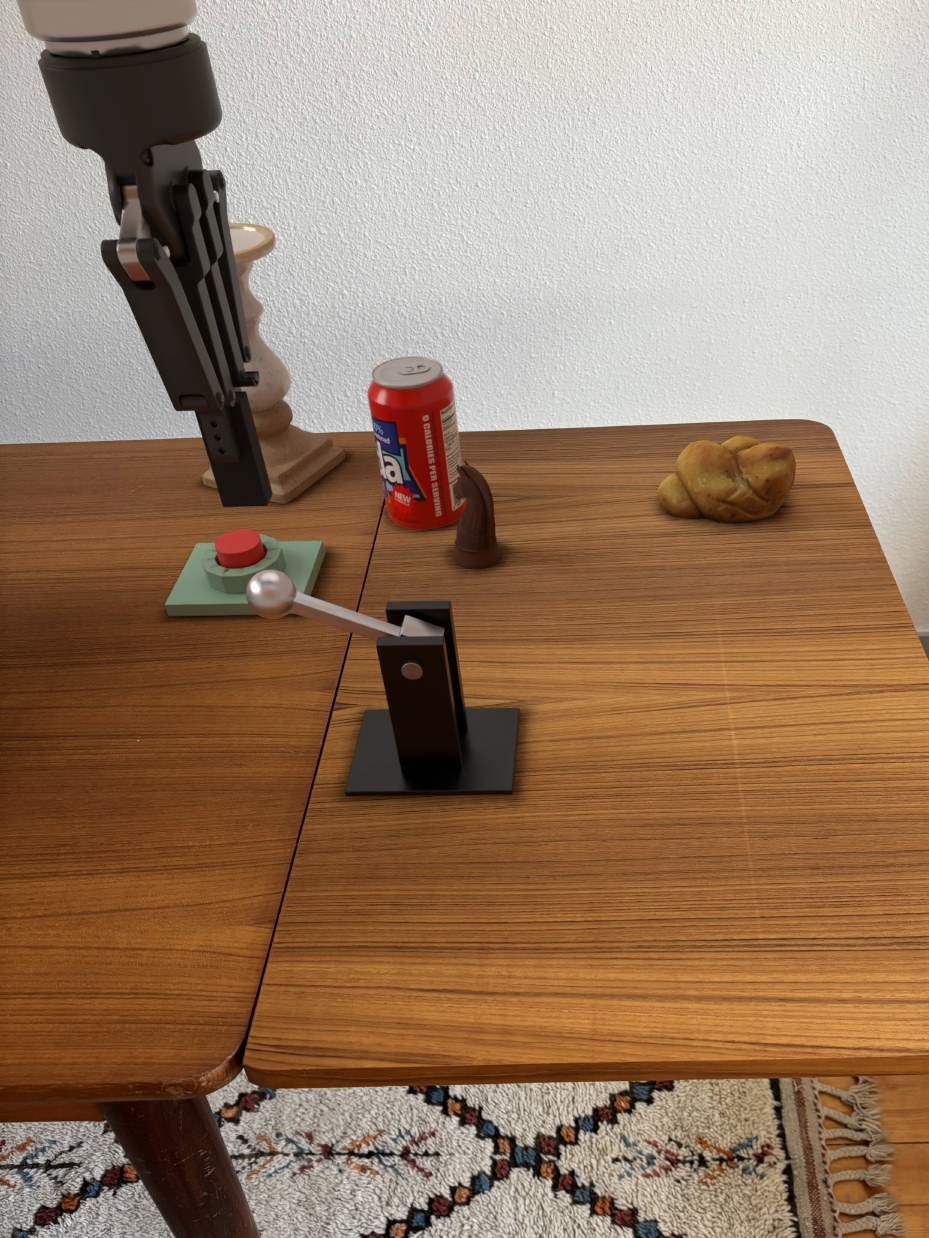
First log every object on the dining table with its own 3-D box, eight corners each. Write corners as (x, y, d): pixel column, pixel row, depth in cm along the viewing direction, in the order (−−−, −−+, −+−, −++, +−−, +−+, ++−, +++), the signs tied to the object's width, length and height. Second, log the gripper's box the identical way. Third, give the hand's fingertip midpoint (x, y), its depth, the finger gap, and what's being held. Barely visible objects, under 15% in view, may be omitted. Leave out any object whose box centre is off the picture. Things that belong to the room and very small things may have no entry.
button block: (171, 625, 93) (157, 587, 90) (203, 562, 100) (191, 526, 97) (305, 622, 92) (295, 584, 90) (327, 560, 100) (318, 523, 97)
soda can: (474, 529, 102) (457, 380, 92) (394, 543, 101) (368, 393, 91) (460, 491, 108) (443, 346, 98) (384, 503, 107) (359, 358, 97)
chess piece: (480, 544, 100) (469, 447, 94) (516, 564, 98) (508, 465, 91) (443, 564, 98) (430, 467, 91) (480, 585, 95) (469, 485, 89)
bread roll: (656, 534, 101) (658, 457, 95) (656, 483, 108) (657, 409, 102) (792, 533, 100) (802, 456, 94) (783, 483, 107) (791, 407, 101)
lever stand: (347, 805, 76) (311, 665, 67) (367, 722, 82) (337, 585, 73) (513, 804, 75) (499, 662, 66) (520, 720, 82) (508, 582, 73)
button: (214, 570, 92) (208, 553, 91) (226, 546, 95) (221, 529, 94) (259, 569, 92) (254, 552, 91) (269, 545, 95) (265, 528, 94)
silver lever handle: (236, 619, 68) (245, 580, 66) (248, 590, 70) (258, 553, 68) (427, 682, 71) (442, 647, 69) (433, 653, 74) (447, 619, 72)
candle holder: (268, 446, 117) (210, 215, 101) (349, 463, 114) (303, 227, 97) (203, 491, 110) (130, 251, 94) (287, 512, 106) (226, 265, 90)
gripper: (155, 61, 43) (285, 557, 59) (236, 9, 52) (329, 448, 68) (-24, 70, 43) (154, 560, 59) (89, 16, 53) (216, 451, 69)
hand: (248, 499), depth 64 cm, fingers closed
